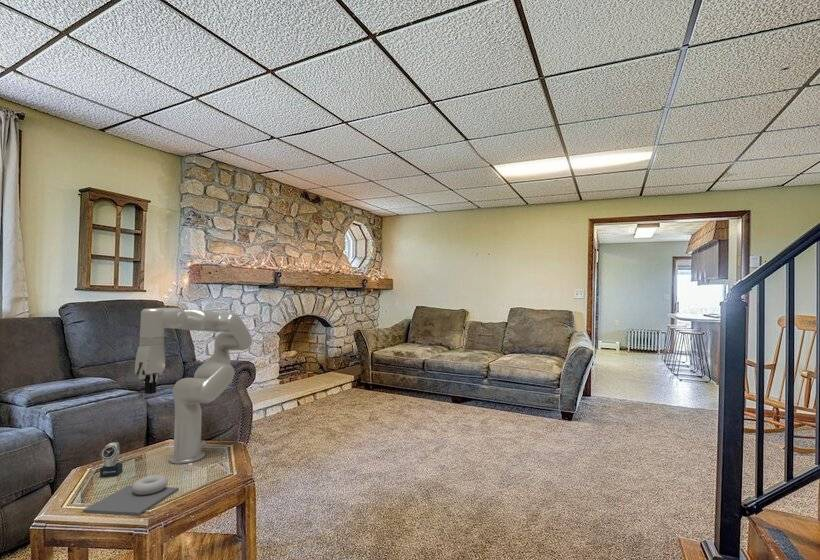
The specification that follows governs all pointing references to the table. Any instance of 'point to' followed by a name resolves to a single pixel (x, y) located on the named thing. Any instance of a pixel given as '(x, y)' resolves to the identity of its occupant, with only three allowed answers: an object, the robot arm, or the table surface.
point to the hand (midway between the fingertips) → (150, 393)
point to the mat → (129, 502)
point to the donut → (149, 484)
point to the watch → (111, 461)
